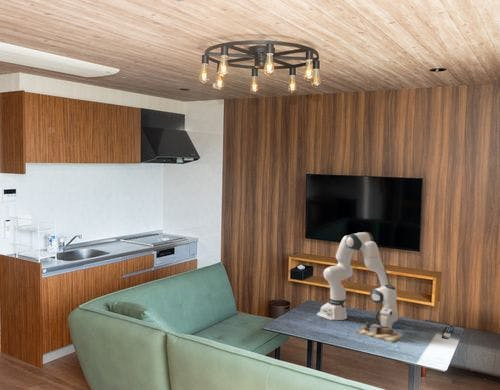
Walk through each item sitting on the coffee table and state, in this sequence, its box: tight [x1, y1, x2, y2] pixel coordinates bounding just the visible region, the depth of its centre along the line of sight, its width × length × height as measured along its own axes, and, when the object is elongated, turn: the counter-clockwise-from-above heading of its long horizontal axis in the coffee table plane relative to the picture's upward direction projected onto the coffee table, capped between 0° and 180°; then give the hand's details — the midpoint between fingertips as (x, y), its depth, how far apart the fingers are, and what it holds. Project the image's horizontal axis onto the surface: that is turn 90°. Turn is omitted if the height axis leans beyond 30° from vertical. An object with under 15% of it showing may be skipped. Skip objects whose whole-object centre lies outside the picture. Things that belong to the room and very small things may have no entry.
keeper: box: [369, 323, 382, 334], centre depth 320 cm, size 5×6×4 cm
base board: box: [356, 327, 404, 344], centre depth 318 cm, size 26×15×1 cm, turn 49°
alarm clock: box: [375, 309, 382, 325], centre depth 335 cm, size 11×5×16 cm, turn 62°
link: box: [363, 321, 394, 335], centre depth 320 cm, size 19×4×5 cm, turn 58°
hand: (389, 330), depth 319 cm, fingers closed
